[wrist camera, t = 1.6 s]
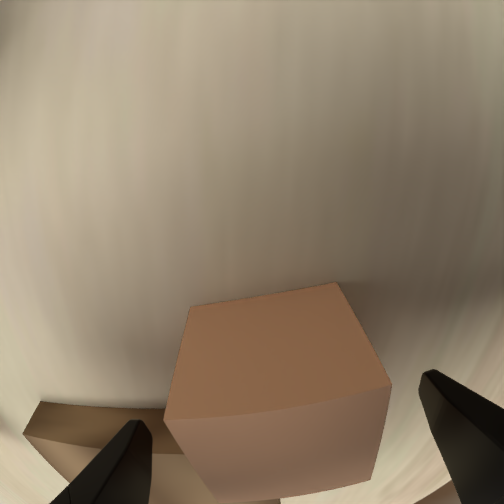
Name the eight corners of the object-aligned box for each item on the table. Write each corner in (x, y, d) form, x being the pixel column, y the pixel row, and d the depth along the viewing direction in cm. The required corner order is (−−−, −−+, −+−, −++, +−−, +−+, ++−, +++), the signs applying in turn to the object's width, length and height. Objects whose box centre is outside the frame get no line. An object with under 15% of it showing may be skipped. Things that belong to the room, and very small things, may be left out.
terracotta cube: (335, 280, 11) (392, 384, 6) (338, 382, 12) (370, 479, 8) (190, 305, 11) (163, 420, 6) (223, 401, 13) (219, 502, 8)
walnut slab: (261, 395, 13) (265, 449, 10) (278, 480, 16) (282, 518, 13) (43, 395, 13) (22, 434, 10) (109, 477, 16) (101, 509, 14)
